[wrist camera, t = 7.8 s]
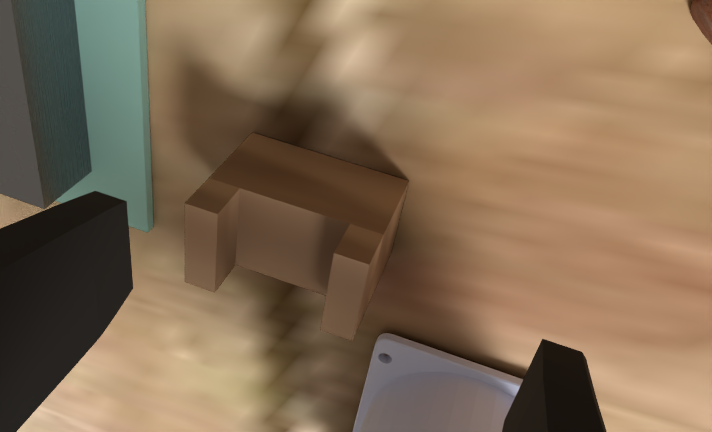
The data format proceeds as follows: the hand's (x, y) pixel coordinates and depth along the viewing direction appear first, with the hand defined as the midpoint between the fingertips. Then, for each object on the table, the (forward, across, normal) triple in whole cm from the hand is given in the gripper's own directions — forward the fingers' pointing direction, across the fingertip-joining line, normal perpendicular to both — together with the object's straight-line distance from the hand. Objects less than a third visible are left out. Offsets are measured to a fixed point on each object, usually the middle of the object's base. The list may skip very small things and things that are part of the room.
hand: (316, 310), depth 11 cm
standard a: (+10, +3, +5) cm, 11 cm away
